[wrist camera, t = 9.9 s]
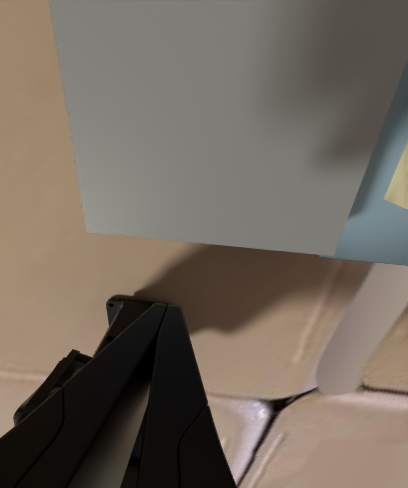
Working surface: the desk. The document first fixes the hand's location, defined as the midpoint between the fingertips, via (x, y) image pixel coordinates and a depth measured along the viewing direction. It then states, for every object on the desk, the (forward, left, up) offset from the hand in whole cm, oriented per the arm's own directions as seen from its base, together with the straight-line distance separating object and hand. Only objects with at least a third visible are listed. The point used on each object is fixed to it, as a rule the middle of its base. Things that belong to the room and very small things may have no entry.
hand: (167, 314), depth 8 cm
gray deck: (+6, -1, -12) cm, 13 cm away
